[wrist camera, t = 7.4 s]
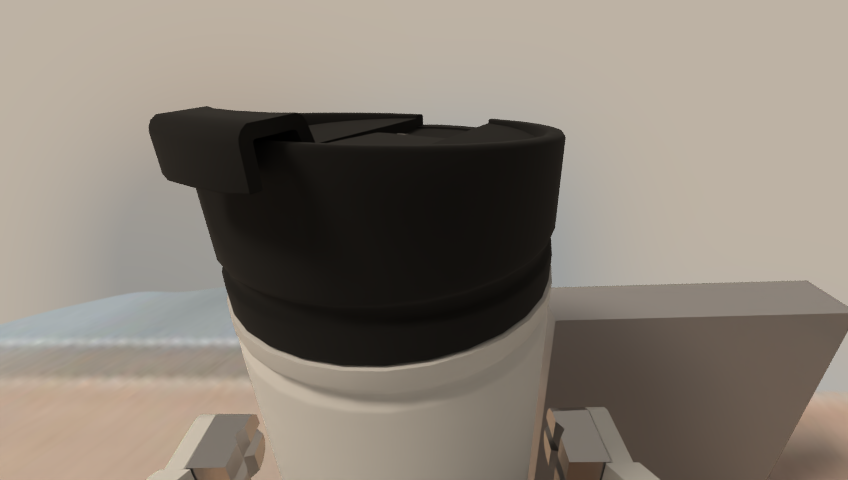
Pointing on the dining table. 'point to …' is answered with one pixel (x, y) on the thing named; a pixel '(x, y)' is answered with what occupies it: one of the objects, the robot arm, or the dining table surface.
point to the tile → (689, 370)
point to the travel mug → (380, 282)
